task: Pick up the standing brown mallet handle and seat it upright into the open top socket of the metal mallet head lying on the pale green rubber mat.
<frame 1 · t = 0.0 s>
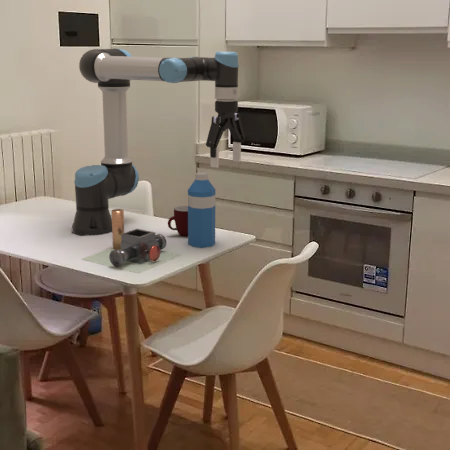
hand: (225, 164, 231), 28 cm above the table, fingers open, 13 cm apart
metal mallet head: (139, 258, 221), resting on mat
brown mallet handle: (118, 248, 231), resting on mat
mat: (131, 258, 222), on the table
water bottle: (201, 245, 237), on the table
mug: (182, 236, 248), on the table
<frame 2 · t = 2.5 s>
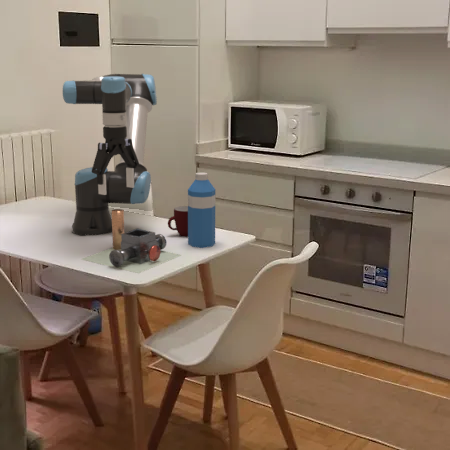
hand: (116, 190, 226), 20 cm above the table, fingers open, 13 cm apart
nothing on the table moved.
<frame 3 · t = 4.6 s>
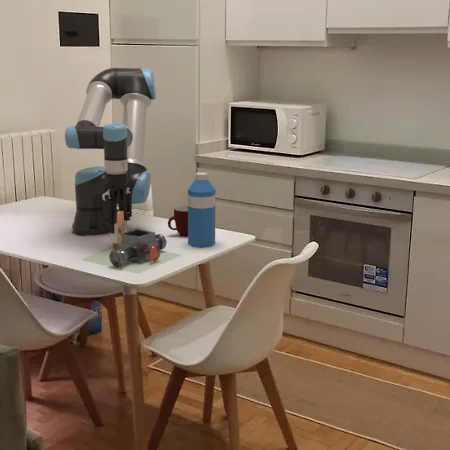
hand: (118, 240, 231), 3 cm above the table, fingers closed on brown mallet handle, 4 cm apart
brown mallet handle: (118, 248, 231), resting on mat, touching gripper
everything else where it was.
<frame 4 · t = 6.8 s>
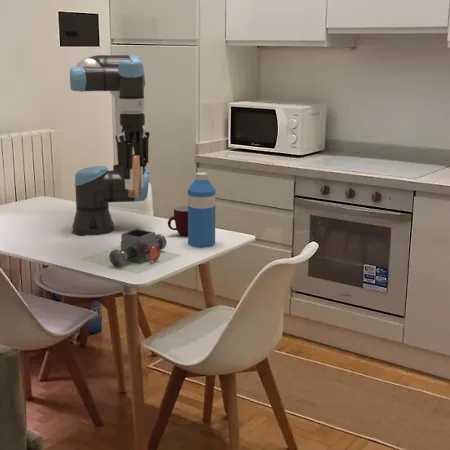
hand: (134, 187, 215), 23 cm above the table, fingers closed on brown mallet handle, 4 cm apart
brown mallet handle: (134, 196, 216), point 21 cm above the table, touching gripper
everything else where it was.
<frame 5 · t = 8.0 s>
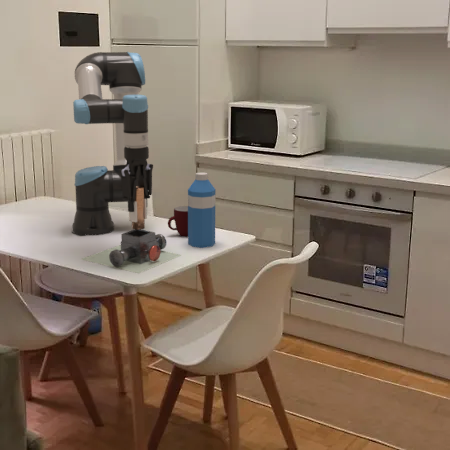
hand: (138, 219, 217), 13 cm above the table, fingers closed on brown mallet handle, 4 cm apart
brown mallet handle: (138, 227, 218), point 11 cm above the table, touching gripper
everything else where it was.
when the fingers open (11 cm above the table, at t = 8.8 s): brown mallet handle drops 1 cm, resting on metal mallet head.
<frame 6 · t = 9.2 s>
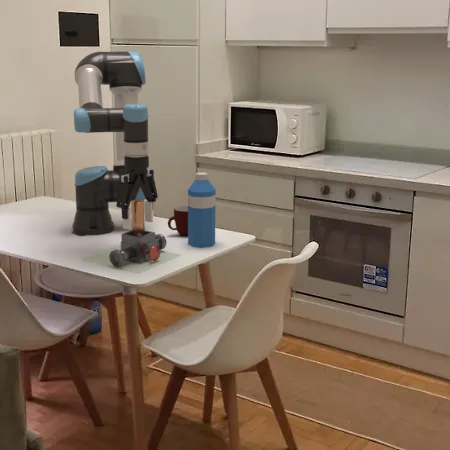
hand: (138, 225, 218), 12 cm above the table, fingers open, 10 cm apart
brown mallet handle: (138, 240, 219), point 6 cm above the table, touching metal mallet head
everything else where it was.
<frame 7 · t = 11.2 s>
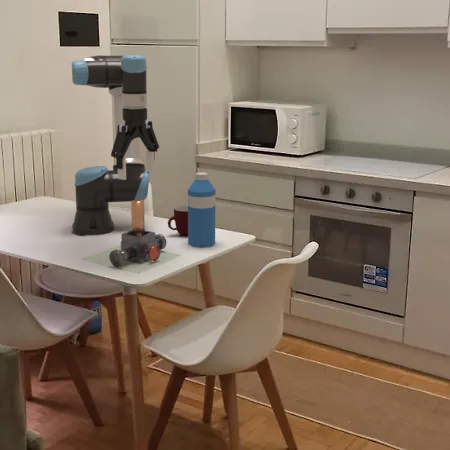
hand: (136, 175, 217), 27 cm above the table, fingers open, 13 cm apart
nothing on the table moved.
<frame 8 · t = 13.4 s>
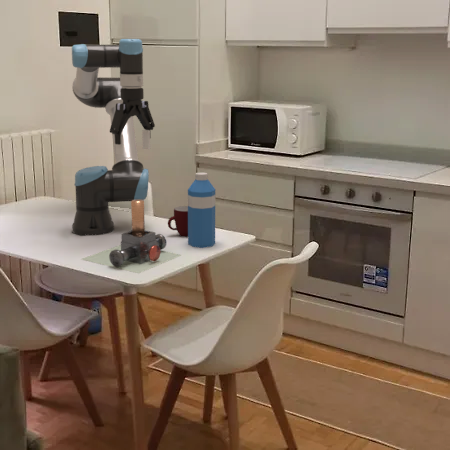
hand: (133, 151, 232), 32 cm above the table, fingers open, 13 cm apart
nothing on the table moved.
at the end: brown mallet handle 0.0 cm off-centre on the metal mallet head, point 6.0 cm above the metal mallet head's base; brown mallet handle tilted 0°; the gripper is holding nothing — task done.
